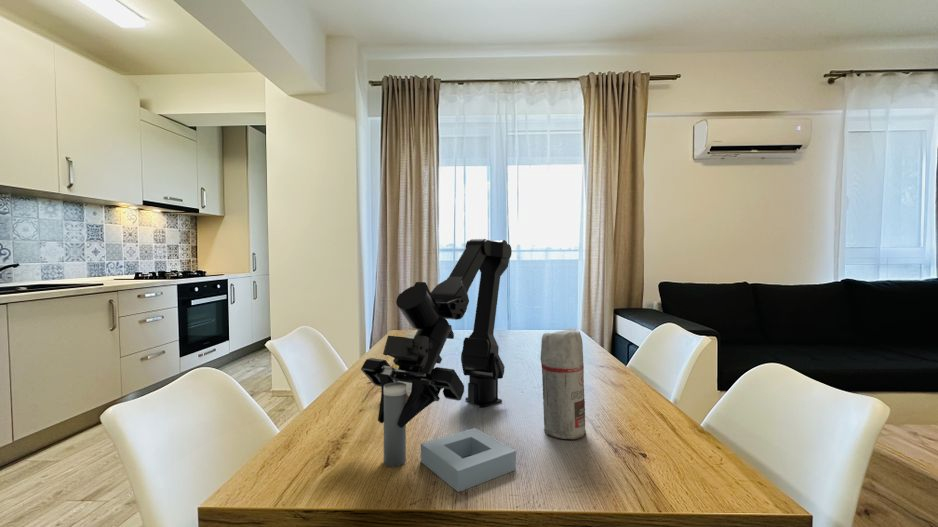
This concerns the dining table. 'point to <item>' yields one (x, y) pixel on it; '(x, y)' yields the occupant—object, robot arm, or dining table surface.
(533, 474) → the dining table surface
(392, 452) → the peg
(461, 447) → the socket
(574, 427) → the spray can
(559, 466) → the dining table surface
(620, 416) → the dining table surface
